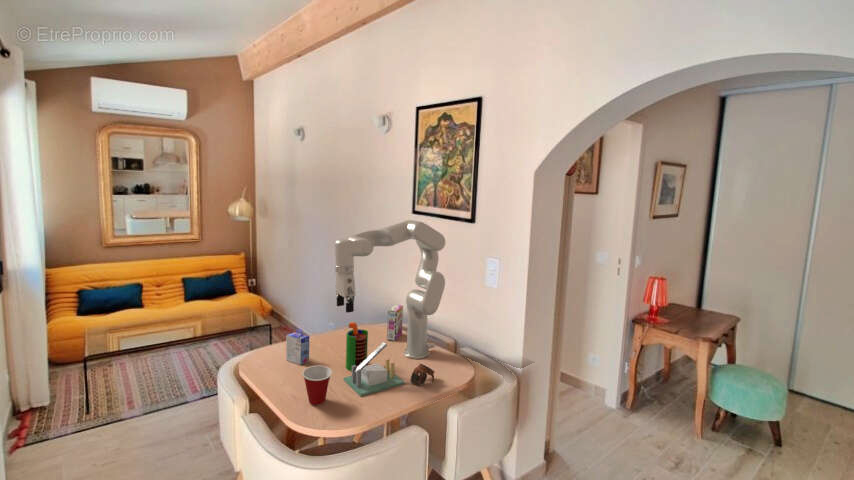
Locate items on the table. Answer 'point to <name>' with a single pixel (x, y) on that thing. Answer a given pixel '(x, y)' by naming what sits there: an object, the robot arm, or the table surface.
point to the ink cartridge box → (297, 347)
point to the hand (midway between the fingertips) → (345, 308)
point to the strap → (371, 356)
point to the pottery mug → (421, 374)
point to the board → (373, 378)
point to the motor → (356, 346)
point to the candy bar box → (394, 322)
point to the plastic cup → (317, 383)
